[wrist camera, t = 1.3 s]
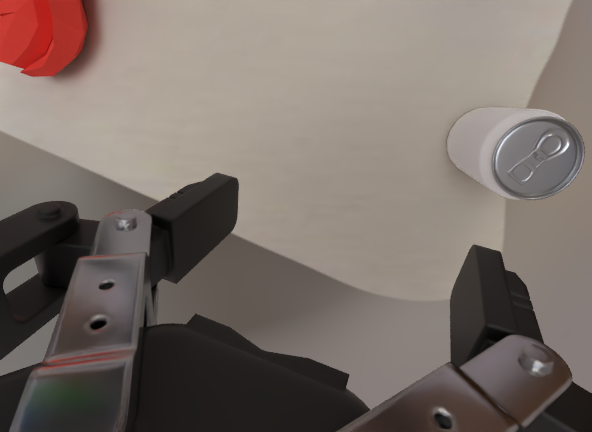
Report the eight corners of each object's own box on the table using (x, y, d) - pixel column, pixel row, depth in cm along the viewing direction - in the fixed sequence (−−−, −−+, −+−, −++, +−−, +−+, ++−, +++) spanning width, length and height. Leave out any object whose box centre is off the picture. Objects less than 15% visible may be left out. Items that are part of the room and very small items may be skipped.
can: (532, 136, 34) (616, 152, 23) (479, 186, 37) (533, 224, 25) (481, 92, 34) (542, 87, 23) (431, 146, 36) (464, 166, 25)
